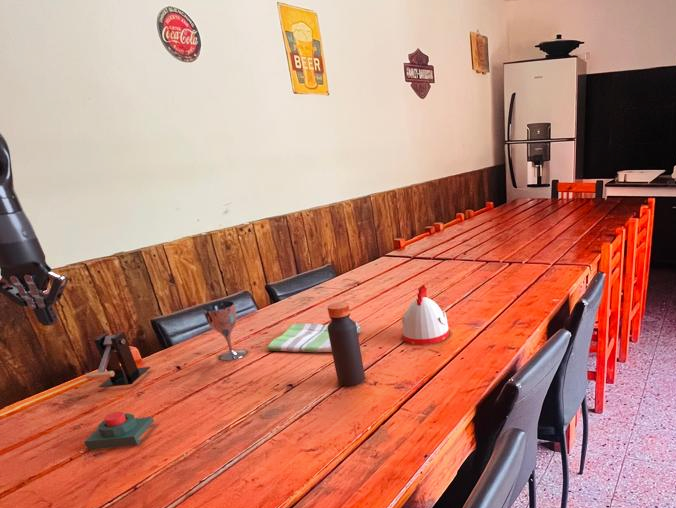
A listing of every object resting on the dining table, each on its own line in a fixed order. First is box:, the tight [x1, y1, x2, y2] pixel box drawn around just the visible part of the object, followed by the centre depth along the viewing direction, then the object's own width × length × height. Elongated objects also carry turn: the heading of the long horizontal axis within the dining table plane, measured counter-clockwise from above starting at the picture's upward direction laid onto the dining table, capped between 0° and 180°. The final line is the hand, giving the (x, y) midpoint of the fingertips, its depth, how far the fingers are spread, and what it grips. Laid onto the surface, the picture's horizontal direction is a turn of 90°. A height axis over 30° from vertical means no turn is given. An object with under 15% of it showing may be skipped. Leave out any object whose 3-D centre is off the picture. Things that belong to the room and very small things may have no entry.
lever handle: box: [85, 334, 116, 380], centre depth 129 cm, size 12×6×2 cm
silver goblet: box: [202, 300, 247, 361], centre depth 144 cm, size 8×8×15 cm
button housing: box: [83, 413, 155, 451], centre depth 109 cm, size 10×8×4 cm
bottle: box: [327, 301, 366, 387], centre depth 124 cm, size 7×7×20 cm
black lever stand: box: [93, 331, 150, 388], centre depth 133 cm, size 10×8×13 cm
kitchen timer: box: [401, 284, 450, 346], centre depth 150 cm, size 14×14×15 cm
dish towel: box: [266, 321, 362, 353], centre depth 153 cm, size 17×23×4 cm
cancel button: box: [103, 411, 126, 427], centre depth 108 cm, size 4×4×2 cm
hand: (50, 324), depth 103 cm, fingers closed
